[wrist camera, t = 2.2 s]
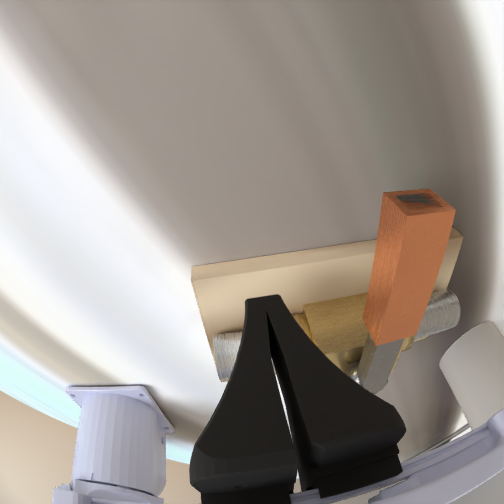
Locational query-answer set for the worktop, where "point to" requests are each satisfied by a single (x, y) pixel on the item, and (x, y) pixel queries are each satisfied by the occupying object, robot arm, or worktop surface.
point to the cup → (477, 372)
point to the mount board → (292, 280)
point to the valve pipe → (344, 329)
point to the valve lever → (401, 278)
